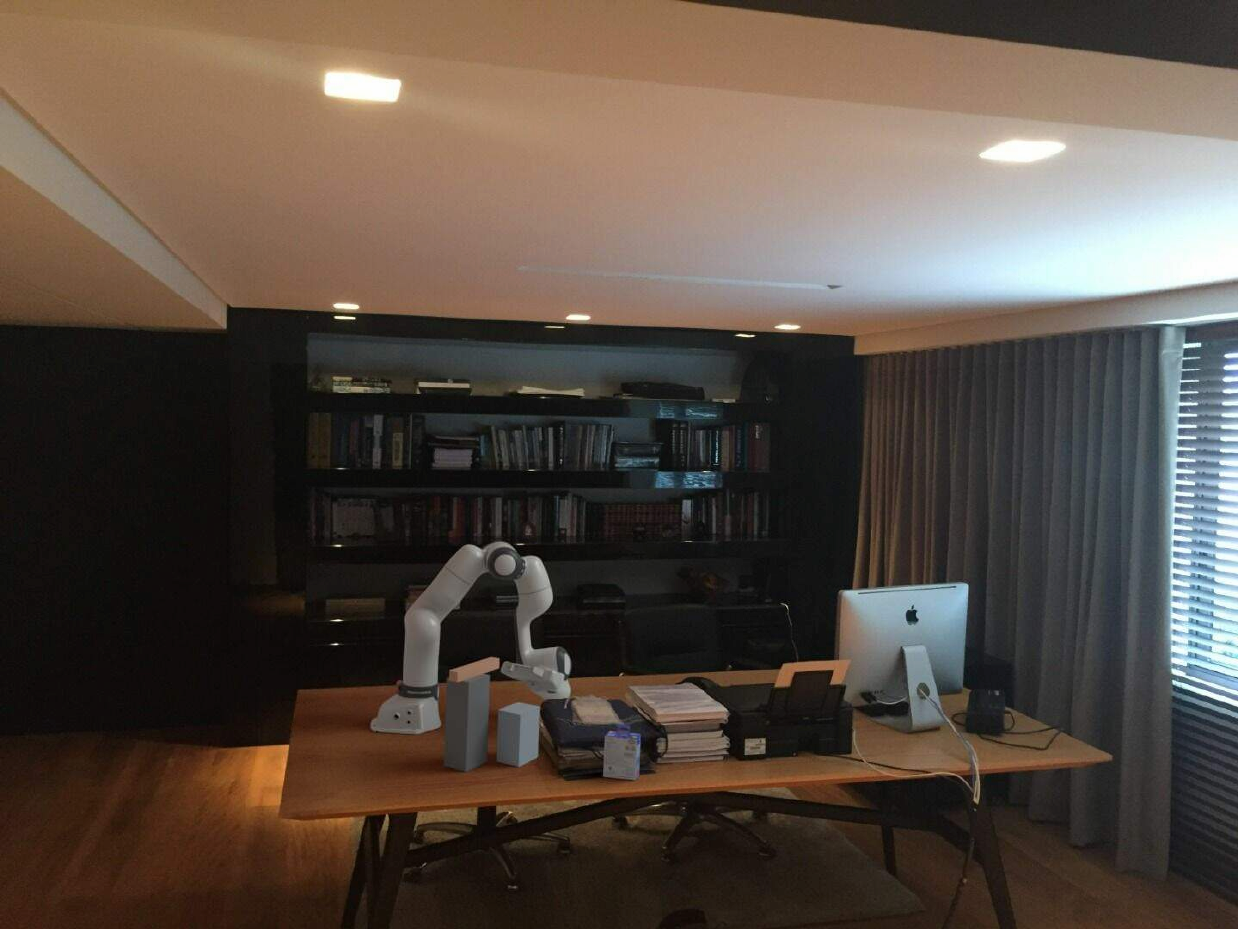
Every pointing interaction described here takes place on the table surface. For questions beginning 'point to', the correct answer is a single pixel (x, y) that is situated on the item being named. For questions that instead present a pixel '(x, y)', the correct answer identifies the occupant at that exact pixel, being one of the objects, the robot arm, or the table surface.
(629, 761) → the ink cartridge box
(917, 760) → the table surface
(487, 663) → the bar
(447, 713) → the tall stand
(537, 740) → the low block
